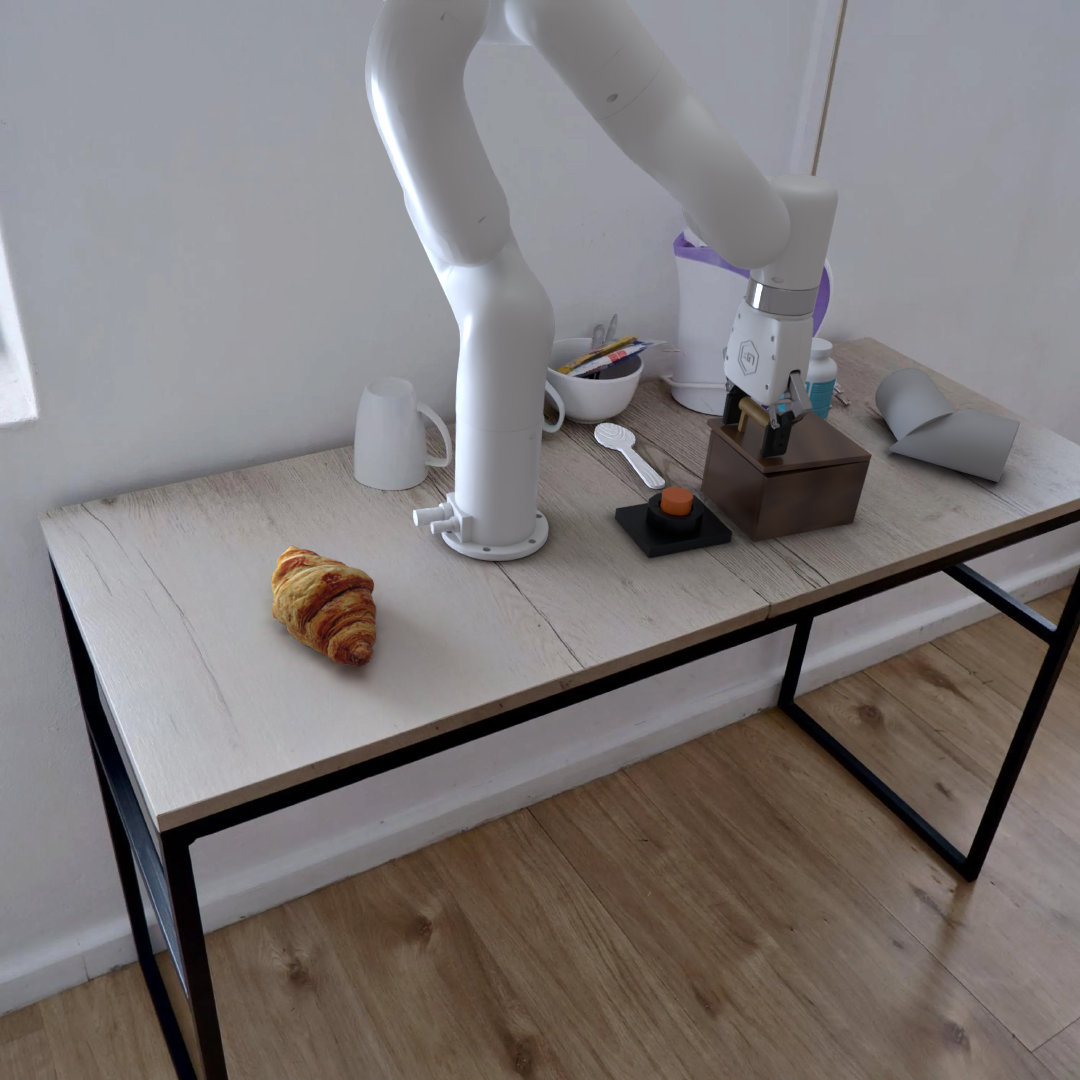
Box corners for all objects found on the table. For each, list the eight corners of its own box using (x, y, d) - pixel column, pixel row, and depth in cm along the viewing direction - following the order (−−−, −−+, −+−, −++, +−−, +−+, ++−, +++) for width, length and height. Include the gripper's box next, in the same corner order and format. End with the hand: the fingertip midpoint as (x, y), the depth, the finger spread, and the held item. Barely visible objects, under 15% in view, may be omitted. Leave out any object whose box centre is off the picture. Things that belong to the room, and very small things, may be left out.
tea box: (753, 542, 120) (767, 478, 115) (700, 490, 130) (710, 429, 125) (853, 523, 125) (870, 461, 120) (794, 474, 135) (808, 415, 130)
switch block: (649, 558, 116) (652, 533, 114) (614, 518, 123) (617, 493, 121) (730, 542, 120) (735, 517, 118) (692, 504, 127) (697, 480, 125)
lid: (762, 473, 115) (773, 433, 112) (706, 424, 124) (714, 386, 121) (870, 460, 120) (882, 422, 118) (808, 414, 130) (818, 378, 127)
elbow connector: (844, 446, 140) (994, 490, 132) (866, 372, 136) (1022, 412, 128) (869, 426, 154) (1006, 464, 147) (890, 358, 151) (1031, 394, 143)
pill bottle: (819, 422, 149) (839, 335, 141) (826, 445, 142) (848, 356, 135) (768, 417, 149) (786, 330, 141) (772, 440, 143) (791, 350, 135)
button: (669, 518, 118) (671, 504, 116) (654, 503, 120) (656, 489, 119) (696, 514, 119) (698, 499, 118) (681, 498, 122) (683, 484, 120)
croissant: (267, 597, 111) (225, 552, 105) (341, 541, 113) (304, 494, 107) (342, 713, 96) (298, 667, 90) (426, 646, 98) (388, 597, 92)
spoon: (640, 491, 128) (641, 487, 128) (586, 427, 142) (586, 424, 142) (678, 486, 130) (678, 482, 130) (620, 423, 144) (621, 420, 144)
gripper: (710, 271, 115) (688, 410, 125) (799, 328, 102) (766, 478, 112) (766, 267, 118) (740, 403, 128) (859, 321, 105) (822, 469, 115)
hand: (752, 437), depth 120 cm, fingers open, 7 cm apart
